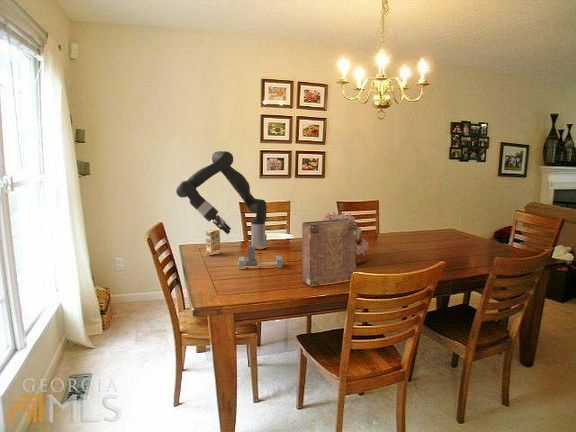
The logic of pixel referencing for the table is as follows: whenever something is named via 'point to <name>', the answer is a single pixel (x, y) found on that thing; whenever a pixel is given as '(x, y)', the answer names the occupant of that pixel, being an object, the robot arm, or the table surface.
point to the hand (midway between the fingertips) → (229, 231)
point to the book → (328, 251)
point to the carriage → (251, 257)
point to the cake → (361, 243)
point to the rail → (278, 262)
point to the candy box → (213, 240)
